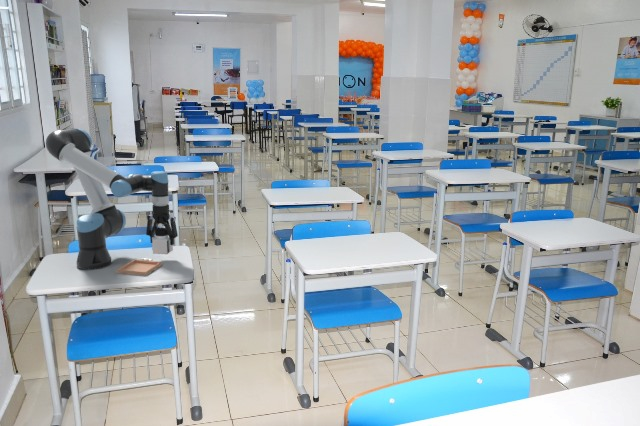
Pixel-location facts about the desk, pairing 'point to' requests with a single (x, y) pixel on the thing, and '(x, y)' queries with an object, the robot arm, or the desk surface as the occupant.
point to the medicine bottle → (161, 241)
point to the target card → (146, 259)
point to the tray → (139, 267)
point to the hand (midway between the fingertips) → (162, 250)
